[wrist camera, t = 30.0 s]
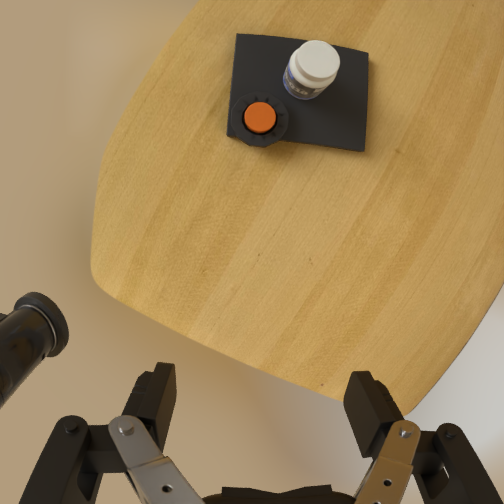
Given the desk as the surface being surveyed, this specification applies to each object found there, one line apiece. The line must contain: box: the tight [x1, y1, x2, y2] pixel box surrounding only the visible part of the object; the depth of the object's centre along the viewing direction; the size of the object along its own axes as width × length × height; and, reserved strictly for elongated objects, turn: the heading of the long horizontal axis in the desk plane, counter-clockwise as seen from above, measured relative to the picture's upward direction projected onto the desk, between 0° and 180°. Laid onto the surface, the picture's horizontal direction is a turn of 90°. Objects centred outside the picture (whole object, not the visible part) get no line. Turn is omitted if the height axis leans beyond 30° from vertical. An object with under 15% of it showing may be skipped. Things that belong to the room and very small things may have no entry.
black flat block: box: [227, 34, 368, 152], centre depth 31 cm, size 16×14×3 cm
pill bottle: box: [283, 40, 340, 100], centre depth 27 cm, size 5×5×8 cm
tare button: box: [245, 102, 276, 133], centre depth 30 cm, size 3×3×2 cm
